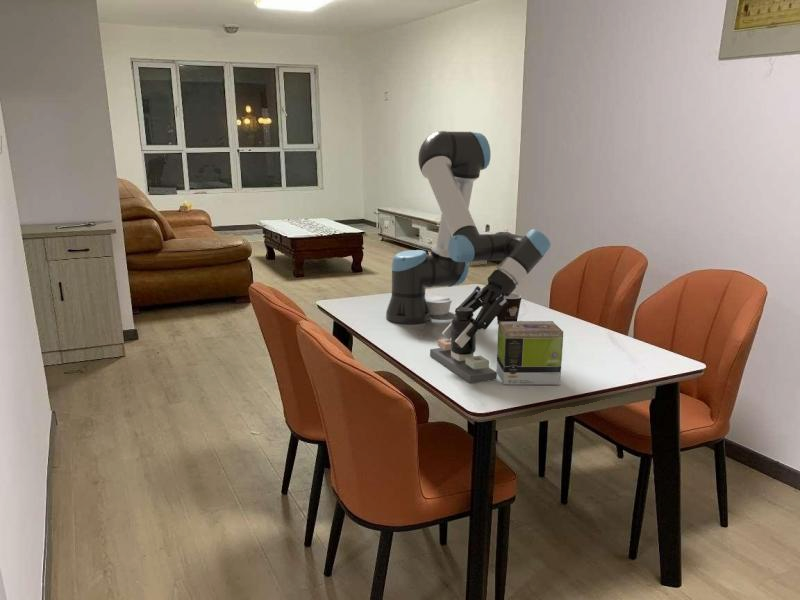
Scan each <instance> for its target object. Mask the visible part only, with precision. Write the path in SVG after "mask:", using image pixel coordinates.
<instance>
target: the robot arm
mask: <svg viewBox="0 0 800 600" xmlns="http://www.w3.org/2000/svg"><path fill="white" fill-rule="evenodd" d="M491 153H492V152H491V146H490V144H489V140H488V139H487V137H486V136H485V135H484V134H483V133H480V132H475V131H474V132H473V131H446V130H439V131H436V132H433V133H431V134H430V135H428V136H427V137H426V138H425V140H423V143H422V144H421V145H420V148H419V151H418V166H419V170H420V172H421V175H422V177H423V178H424V179H425V178H426V179H427V180H428V183H429V185H430V187H431V190H432V193H433V195H434V197H435V199H436V202H437V205H438V206H439V209H440V212H441V215H440V222H439V228H438V235H437V240H436V243H435V244H433V245H432V246H431V249H430V253H428V254H427V252H426V251H425V250H421V249H416V250H414V249H411V250H404V251H400V252H398V253H396V254H395V255H394V256H393V257H392V264H391V297H390V300H389V303H388V305H387V308H386V312H385V318H386V320H388V321H390V322H392V323H397V324H407V325H408V324H409V325H412V324H413V325H415V324H421V323H425V322H428V321H429V320H430V315H429V314H430V313H429V309H428V306H427V302H426V299H425V296H426V289H428V288H442V287H451V288H452V287H454V286H459V285H461V284H462V283H464V282H465V281H466V278H467V276H468V275H469V269H470V268H469V267H470V265H469V263H471V262H483V261H484V262H485V261H488V262H489V261H490V262H491V261H501V262H500V263H499V264H498V265H497V267H496V268H497V269H494V270H493V272H492V273H491V274H490V275H489V276H488V278H487V284H486V285H484V286H483V287H480V286H479V285H477V286H476V287H475V288H474V290H473V291H472V292H471V293H470V294H469V295H468V296H467V298H465V300H464V301H462V302H461V303H460V304H459V306H458V307H469V308H472V309H473V313H475V312H476V311H477V310H479V309H480V310H479V312H478V314H477V315H476V317H475V318H474V319H475V321H472V323H473V324H474V325H473V324H472V323H470V324H469V325H468V326H467V327H466V329H465V330H464V331H463V332H462V333H461V334H460V335H459V337H458V338H457V339H456V340H455V342H456V343H457V344H458V345H459V346H460V347H461V348H462V347H463V346H464V345H465V344H466V343H467V342H468V340H469V339H470V338H471V337H473V335H474V334H475V333H476V334H477V332H478V331H480V330H487V329H488V327H489V326H490V325H491V323H492V322H493V321H494V320H495V318H497V314H498V313H499V312H500V310H501V309H502V308H503V307H504V306H505V305H507V303H508V302H507V300H506V299H505V298H504V296H509V295H510V294H511V293H513V292H514V291H515V289H516V288H517V287H516V286H518V285H520V283H521V282H522V281H523V279H525V277H526V276H527V275H528V274H530V272H531V271H532V270H533V269H534V268H535V266H537V264H538V263H540V262H541V260H542V258H544V257H545V255H546V254H547V252H548V251H549V250H550V248H551V245H552V244H551V241H550V239H549V238H548V236H546V235H545V234H544V233H543V232H541V230H538V229H536V228H533V229H530V230H528V231H527V232H526V233H525V235H519V234H514V233H511V232H508V231H498V232H495V233H491V234H489V233H488V234H487V233H486V234H483V233H482V234H480V232H479V230H478V227H477V226H476V223H475V221H474V219H473V217H472V214H471V213H470V210H469V208H470V204H471V198H472V197H471V196H472V192H473V187H474V182H475V181H476V180H478V179H479V178H480V176H481V175H480V174H481V171H483V170H486V169H487V168H488V167H489V166H490V161H491V156H492V155H491ZM441 335H443V336H444V337H445V339H448V340H449V339H450V338H451V322H450V323H449V325H448V326H446V327H445V329H444V330H443V331H442V333H441Z"/></svg>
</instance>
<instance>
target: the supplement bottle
mask: <svg viewBox="0 0 800 600" xmlns="http://www.w3.org/2000/svg"><path fill="white" fill-rule="evenodd" d="M454 313H455V314H454V315H455V317H453V318H452V320H451V321H450V323H451V351H452V352H453V353H456V354H460V355H468V354H472V353H474V354H475V352H476V346H477V332H476V333H475V334H474V335H473V337H471V338H470V339H469V340H468V342H467V343H466V344H465V345H464V346H463V347H462V348H461V347H460V346H459V345H458V344H457V343H456V342H455V340H456V339H457V338H458V337H459V335H460V334H461V333H462V332H463V331H464V330H465V329H466V327H467V326H468V325H469V324H470V323H472V321H475V319H476V318H474V312H473V309H472V308H469V307H459V306H458V307H456V308H455V310H454ZM472 324H473V323H472ZM473 325H474V324H473Z"/></svg>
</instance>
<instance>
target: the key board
mask: <svg viewBox="0 0 800 600" xmlns="http://www.w3.org/2000/svg"><path fill="white" fill-rule="evenodd" d="M429 357H431V358H432V357H433V358H432V359H434V360H435V359H436V362H438V361H439V362H438V363H440V364H442V365H443V366H444V367H445V368H447V369H449V370H450V371H451V372H453V373H454V374H455V375H457V376H458V377H460V378H461V379H463V380H465V381H466V383H468V384H475V383H476V384H477V383H482V381H483V382H488V380H490V381H495V380H494V379H496V380H497V375H498V373H497V371H496V370H493V369H492V368H490V366H489V367H487V368H480V369H473V368H471V367H470V366H468V365H466V364H465V361H458V360H456V359H455V358H453V357H451V350H446V351H445V350H443V349H442V348H440V347H438V348H430V350H429Z"/></svg>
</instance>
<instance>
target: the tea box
mask: <svg viewBox="0 0 800 600" xmlns="http://www.w3.org/2000/svg"><path fill="white" fill-rule="evenodd" d="M497 326H498V328H497V348H496V372H497V375H498V377H499V379H500V381H501V380H502V381H501V384H503V386H504V385H508V386H509V385H513V386H514V385H518V386H519V385H521V386H522V385H530V386H531V385H534V386H536V385H538V386H539V385H542V386H543V385H544V386H545V385H548V386H549V385H550V386H551V385H553V386H554V385H555V386H559V385H561V377H562V376H561V374H562V359H563V347H564V346H563V345H564V330H562V329H561V328H560V327H559V326H558V325H557V324H556V323H555V322H554V321H552V320H544V321H543V320H541V321H540V320H539V321H538V320H537V321H536V320H534V321H533V320H532V321H531V320H530V321H529V320H525V321H523V320H517V321H499V325H498V324H497Z"/></svg>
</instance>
